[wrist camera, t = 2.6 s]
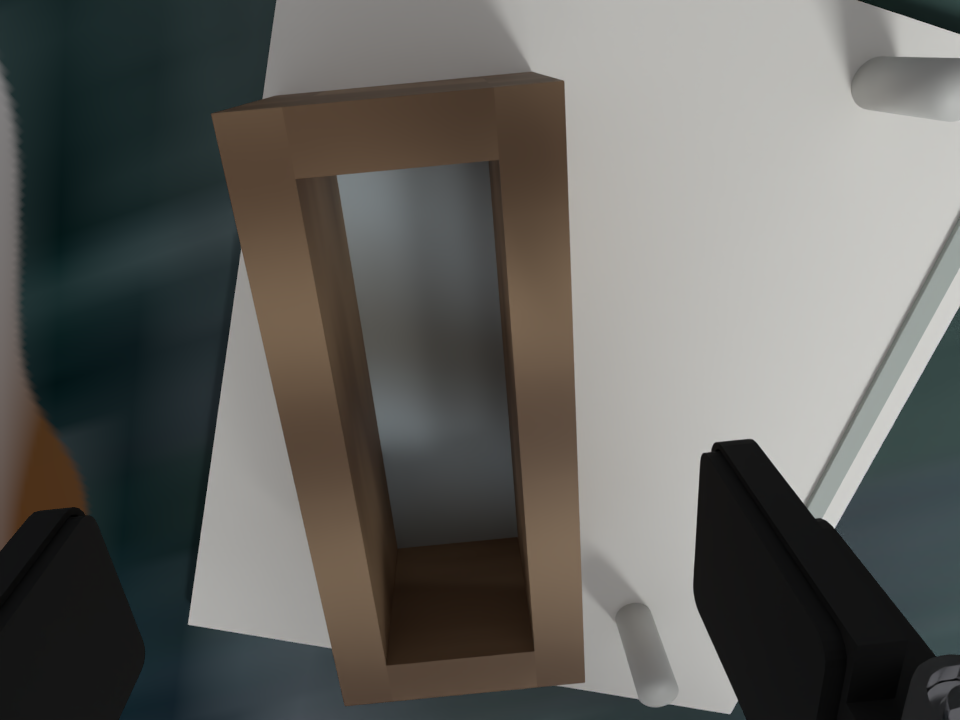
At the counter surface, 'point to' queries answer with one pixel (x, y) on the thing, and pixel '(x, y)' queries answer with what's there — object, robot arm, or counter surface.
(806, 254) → the wall board
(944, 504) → the counter surface
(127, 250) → the counter surface
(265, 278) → the frame
